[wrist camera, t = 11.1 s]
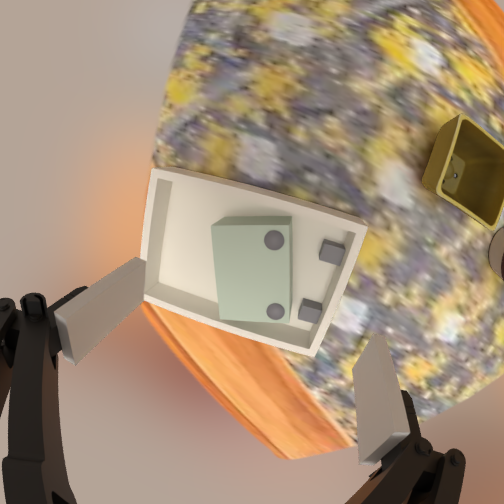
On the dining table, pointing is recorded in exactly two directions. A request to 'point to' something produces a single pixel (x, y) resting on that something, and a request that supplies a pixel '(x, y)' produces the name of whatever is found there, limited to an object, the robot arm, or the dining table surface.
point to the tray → (202, 262)
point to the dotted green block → (254, 267)
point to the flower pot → (468, 170)
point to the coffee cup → (497, 253)
